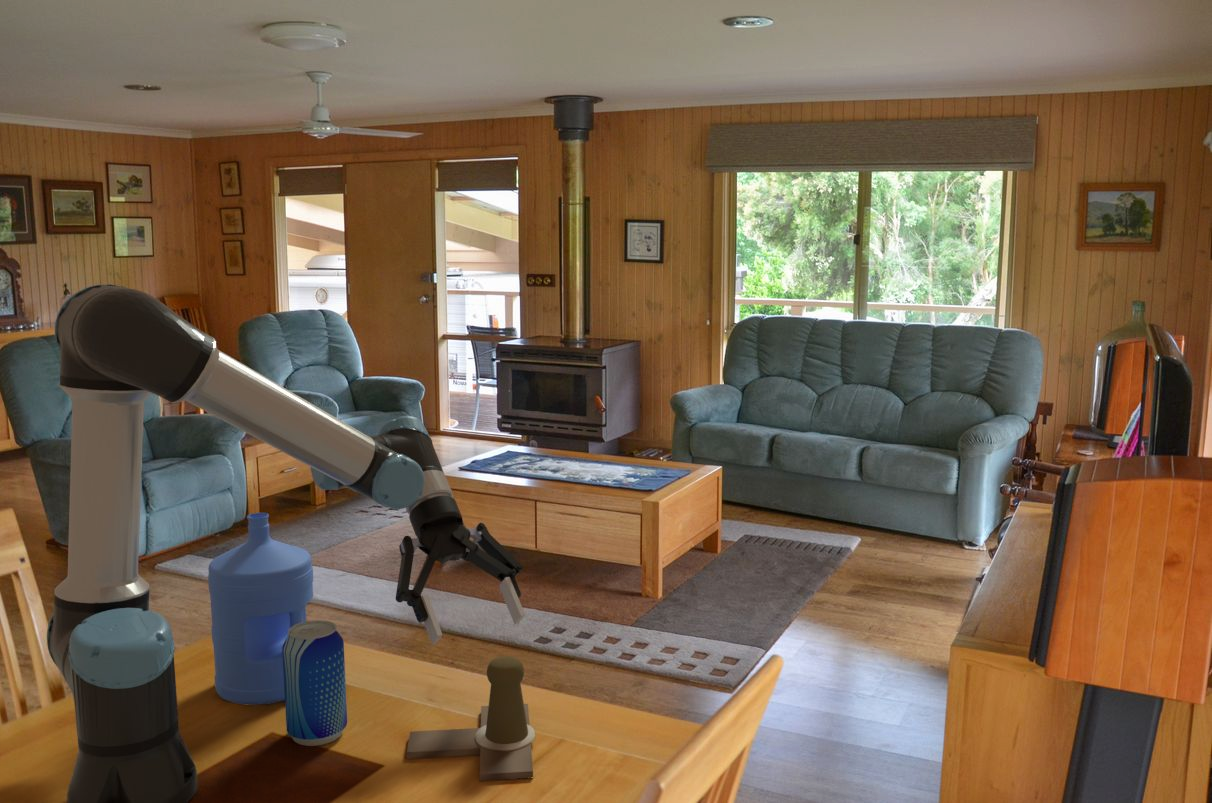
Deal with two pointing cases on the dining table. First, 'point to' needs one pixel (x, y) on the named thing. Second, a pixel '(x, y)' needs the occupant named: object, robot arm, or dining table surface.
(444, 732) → the walnut T board
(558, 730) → the dining table surface
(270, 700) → the water jug
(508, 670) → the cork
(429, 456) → the robot arm
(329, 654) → the beer can
